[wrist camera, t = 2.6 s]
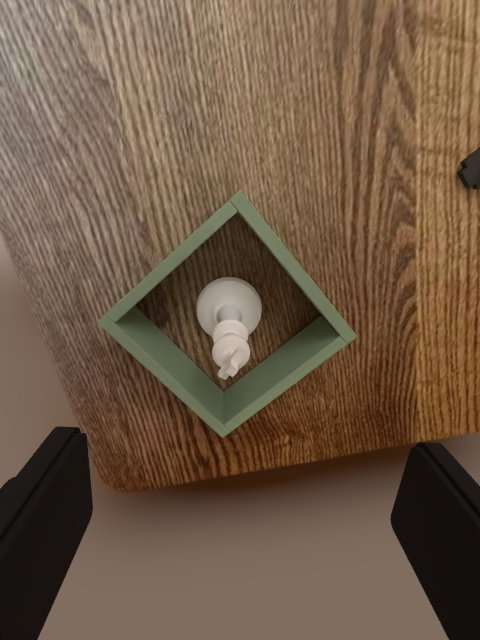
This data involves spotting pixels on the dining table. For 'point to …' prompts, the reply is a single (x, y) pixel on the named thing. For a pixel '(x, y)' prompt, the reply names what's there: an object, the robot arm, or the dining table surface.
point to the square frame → (264, 378)
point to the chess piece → (229, 321)
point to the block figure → (471, 170)
